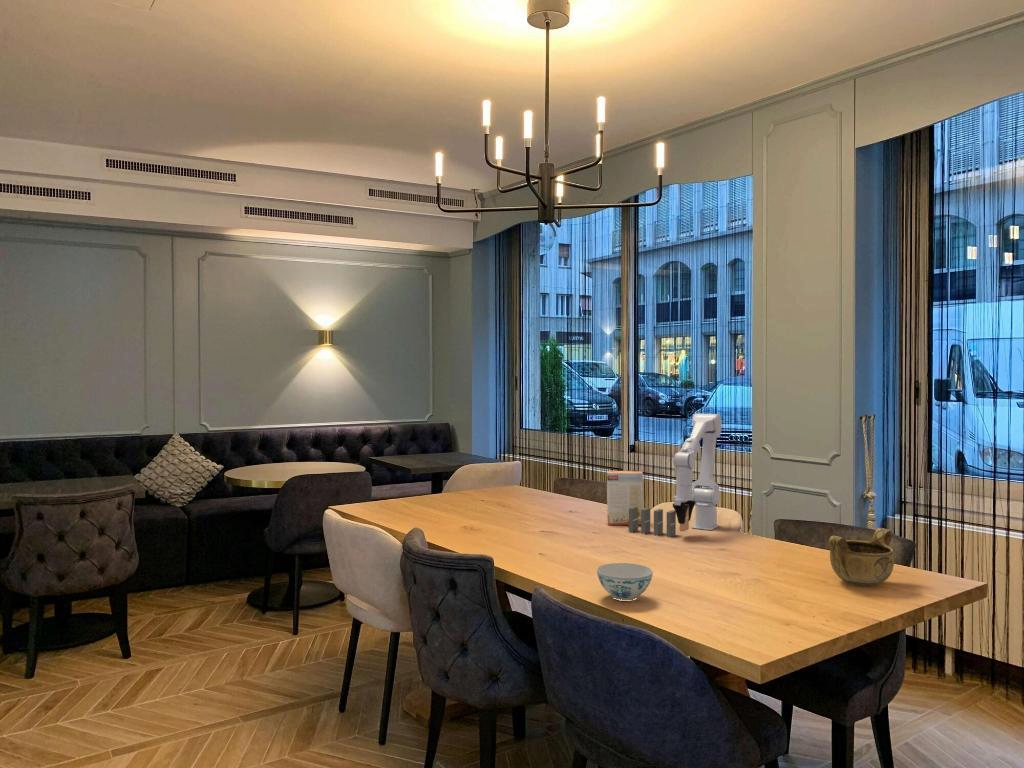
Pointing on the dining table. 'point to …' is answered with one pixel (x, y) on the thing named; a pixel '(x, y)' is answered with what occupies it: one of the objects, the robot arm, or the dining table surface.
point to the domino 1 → (645, 520)
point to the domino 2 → (658, 521)
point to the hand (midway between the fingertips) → (684, 522)
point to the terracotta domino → (685, 526)
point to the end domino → (633, 519)
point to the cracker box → (623, 495)
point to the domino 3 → (671, 523)
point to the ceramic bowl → (863, 559)
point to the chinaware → (624, 579)
